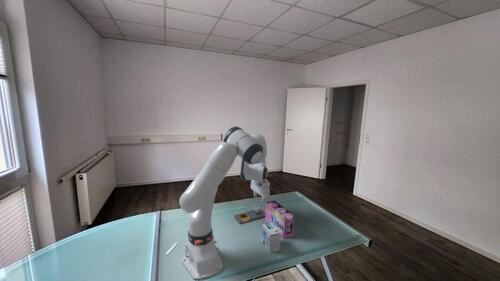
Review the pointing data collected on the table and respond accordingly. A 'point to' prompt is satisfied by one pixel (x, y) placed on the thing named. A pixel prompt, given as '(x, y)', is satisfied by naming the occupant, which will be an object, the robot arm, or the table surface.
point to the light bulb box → (271, 237)
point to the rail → (248, 216)
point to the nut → (257, 210)
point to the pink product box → (280, 218)
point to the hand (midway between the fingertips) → (259, 199)
